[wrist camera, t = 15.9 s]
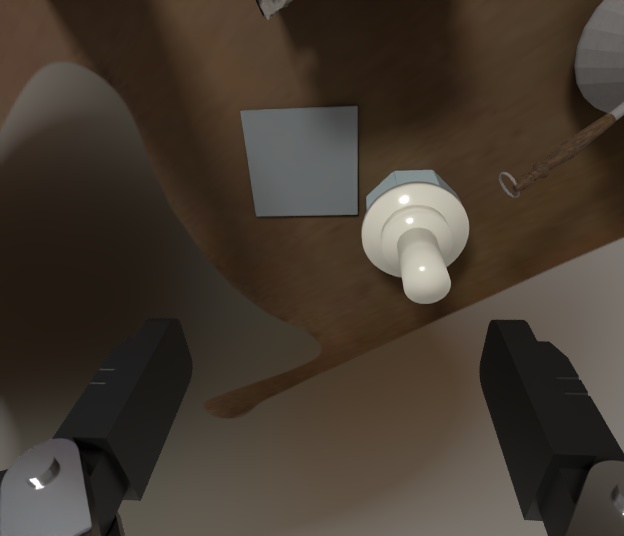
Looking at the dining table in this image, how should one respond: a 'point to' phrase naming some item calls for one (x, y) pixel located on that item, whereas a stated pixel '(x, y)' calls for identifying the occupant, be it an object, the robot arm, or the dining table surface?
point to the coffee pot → (591, 85)
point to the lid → (416, 237)
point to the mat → (303, 160)
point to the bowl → (406, 177)
